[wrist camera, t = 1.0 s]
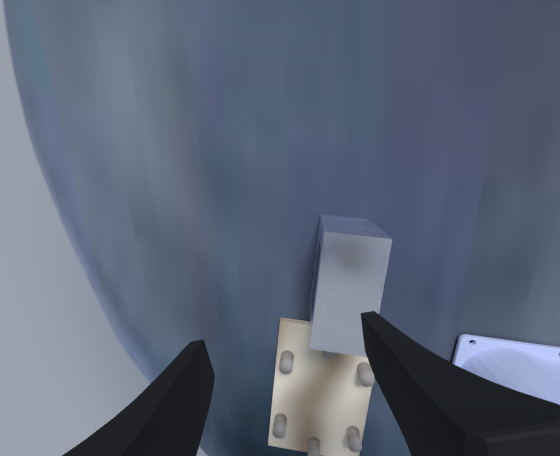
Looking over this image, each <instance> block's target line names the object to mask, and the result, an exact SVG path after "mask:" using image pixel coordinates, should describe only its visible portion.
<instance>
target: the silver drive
mask: <svg viewBox="0 0 560 456" xmlns="http://www.w3.org/2000/svg"><path fill="white" fill-rule="evenodd" d="M391 244H392V238H390V237H389V236H388V235H387V234H386V233H384V232H383V231H382V230H381V229H380V228H378V227H377V226H376V225H375V224H374V223H372V222H371V221H370V220H369V219H361V218H351V217H342V216H332V215H323V214H321V215H320V223H319V231H318V240H317V248H316V256H315V264H314V273H313V281H312V289H311V298H310V349H315V350H321V351H328V352H335V353H342V354H348V355H355V356H362V357H367V355H366V353H365V347H364V339H363V330H362V322H361V314H360V313H364V312H370V311H375V312H376V313H378V314H379V311H380V305H381V299H382V294H383V288H384V283H385V277H386V272H387V266H388V260H389V255H390V249H391Z"/></svg>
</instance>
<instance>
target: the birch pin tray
mask: <svg viewBox="0 0 560 456" xmlns="http://www.w3.org/2000/svg"><path fill="white" fill-rule="evenodd" d="M373 384H374V374H373V372H372V369H371V366H370V364H369V361H368V358H367V357H362V356H355V355H348V354H342V353H335V352H328V351H321V350H315V349H310V321H303V320H296V319H289V318H282V317H281V319H280V327H279V337H278V347H277V358H276V368H275V378H274V388H273V398H272V409H271V419H270V429H269V439H268V445H269V446H274V447H280V448H285V449H291V450H296V451H302V452H307V453H308V456H320V455H323V456H359V453H360V451H361V450H362V444H361V443H362V437H363V432H364V427H365V421H366V416H367V410H368V405H369V400H370V394H371V389H372V385H373Z"/></svg>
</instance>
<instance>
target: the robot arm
mask: <svg viewBox="0 0 560 456" xmlns="http://www.w3.org/2000/svg"><path fill="white" fill-rule="evenodd" d="M360 314H361V322H362V330H363V339H364V347H365V353H366V355H367V358H368V361H369V364H370V366H371V369H372V372H373V374H374V376H375V378H376V380H377V382H378V384H379V386H380V388H381V390H382V392H383V394H384V396H385V398H386V400H387V402H388V404H389V406H390V408H391V410H392V412H393V414H394V416H395V418H396V420H397V422H398V424H399V427H400V429H401V431H402V433H403V436H404V438H405V440H406V443H407V445H408V448H409V451H410V453H411V456H560V354H559V353H560V347H555V346H548V345H540V344H533V343H526V342H518V341H511V340H504V339H497V338H489V337H482V336H475V335H468V334H463V335H461V336H459V338H458V341H457V345H456V349H455V353H454V357H453V361H452V363H451V362H449V361H447V360H445V359H443V358H441V357H439V356H438V355H436V354H434V353H432V352H431V351H429V350H427V349H426V348H424V347H423V346H421V345H420V344H418V343H416V342H415V341H413V340H412V339H411V338H409V337H408V336H406V335H405V334H404V333H402V332H401V331H399V330H398V329H397V328H395V327H394V326H393V325H392V324H390V323H389V322H388V321H386V320H385V319H384V318H383V317H381V316H380V315H379V314H378V313H376V312H375V311H370V312H364V313H360ZM471 340H473V342H471V343H469V342H470V341H471ZM558 354H559V355H558ZM214 378H215V375H214V372H213V368H212V365H211V362H210V359H209V355H208V352H207V349H206V346H205V342H204V340H199V341H193V342H190V343H189V344H188V345H187V346H186V347H185V348H184V349H183V350H182V351H181V352H180V354H179V355H178V356H177V357H176V358H175V359H174V360H173V361H172V362H171V363H170V364H169V366H168V367H167V368H166V369H165V370H164V371H163V372H162V373H161V374H160V375H159V376H158V377H157V378H156V379H155V380H154V381H153V382H152V383H151V384H150V385H149V386H148V387H147V388H146V389H145V390H144V391H143V392H142V393H141V394H140V395H139V396H138V397H137V398H136V399H135V400H134V401H133V402H131V403H130V404H129V405H128V406H127V407H126V408H125V409H123V410H122V411H121V412H120V413H119V414H118V415H116V416H115V417H114V418H113V419H112V420H110V421H109V422H108V423H107V424H105V425H104V426H103V427H101V428H100V429H99V430H97V431H96V432H95V433H94V434H92V435H91V436H90V437H88V438H87V439H86V440H84V441H83V442H81V443H80V444H79V445H77V446H76V447H74V448H73V449H71V450H70V451H68V452H67V453H65V454H64V455H63V456H196V454H197V450H198V447H199V443H200V440H201V436H202V432H203V429H204V425H205V421H206V418H207V414H208V410H209V407H210V403H211V399H212V392H213V385H214Z"/></svg>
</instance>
